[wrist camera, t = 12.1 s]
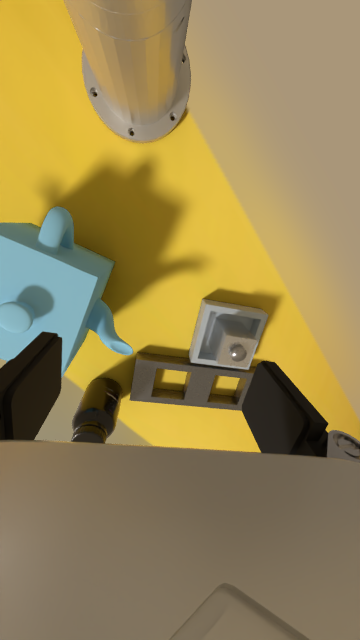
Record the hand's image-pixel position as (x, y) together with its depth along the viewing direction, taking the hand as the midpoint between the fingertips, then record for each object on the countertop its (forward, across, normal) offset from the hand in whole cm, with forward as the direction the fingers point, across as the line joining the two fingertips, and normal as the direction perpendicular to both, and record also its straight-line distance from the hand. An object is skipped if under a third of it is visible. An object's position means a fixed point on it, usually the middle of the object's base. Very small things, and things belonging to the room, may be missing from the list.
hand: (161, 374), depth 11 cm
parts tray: (+28, -14, +9) cm, 33 cm away
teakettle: (+28, +14, +6) cm, 32 cm away
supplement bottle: (+28, +6, +25) cm, 38 cm away
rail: (+28, -11, +20) cm, 36 cm away
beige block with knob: (+28, -14, +9) cm, 32 cm away
